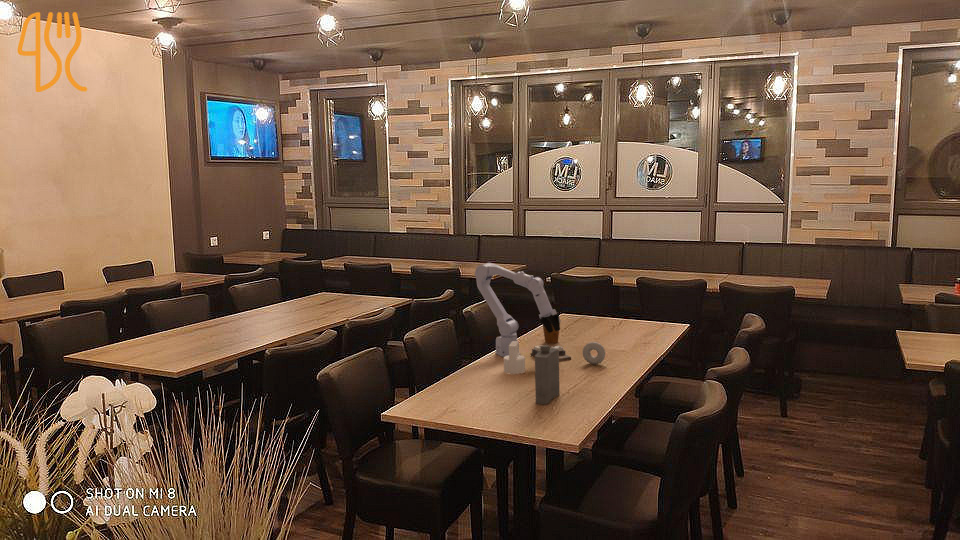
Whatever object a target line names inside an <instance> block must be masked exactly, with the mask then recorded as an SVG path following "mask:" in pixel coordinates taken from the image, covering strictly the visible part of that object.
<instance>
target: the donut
mask: <svg viewBox="0 0 960 540" xmlns="http://www.w3.org/2000/svg"><path fill="white" fill-rule="evenodd" d="M592 350H593V351H596V352H597V355H596V356H594V355H592V354H591V351H592ZM582 356H583V358H584V360H585V361H586V362H587V363H589V364H590V365H598V364H601V363H602V362H604V360H605V358H606V350H605V347H604V346H603V345H602V344H601V343H599V342H597V341H590V342H588V343H586V344H585V345H584V347H583V348H582Z"/></svg>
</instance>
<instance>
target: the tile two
mask: <svg viewBox="0 0 960 540" xmlns="http://www.w3.org/2000/svg"><path fill="white" fill-rule="evenodd" d="M550 348H556V349H558V350H559V351H563V350H564V347H563V346H560V345H554V346H550Z"/></svg>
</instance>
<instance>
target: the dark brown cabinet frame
mask: <svg viewBox="0 0 960 540" xmlns="http://www.w3.org/2000/svg"><path fill="white" fill-rule="evenodd" d="M538 352H540V351H536V350H534V348H532V349H531V353H529V354H530V355H531V356H530V357H532V356H533V358H534V359H535V355H536V354H537V353H538ZM570 360H572V357H571V356H570V355H568V354H567V353H566V350H564V349H563V351H559V362H562V361H563V362H565V361H570Z"/></svg>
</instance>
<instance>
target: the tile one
mask: <svg viewBox="0 0 960 540" xmlns="http://www.w3.org/2000/svg"><path fill="white" fill-rule="evenodd" d="M542 345H543V344H542ZM542 345H534V348H533V349H534V350H536V351H541V350H540V347H541V346H542Z"/></svg>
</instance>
